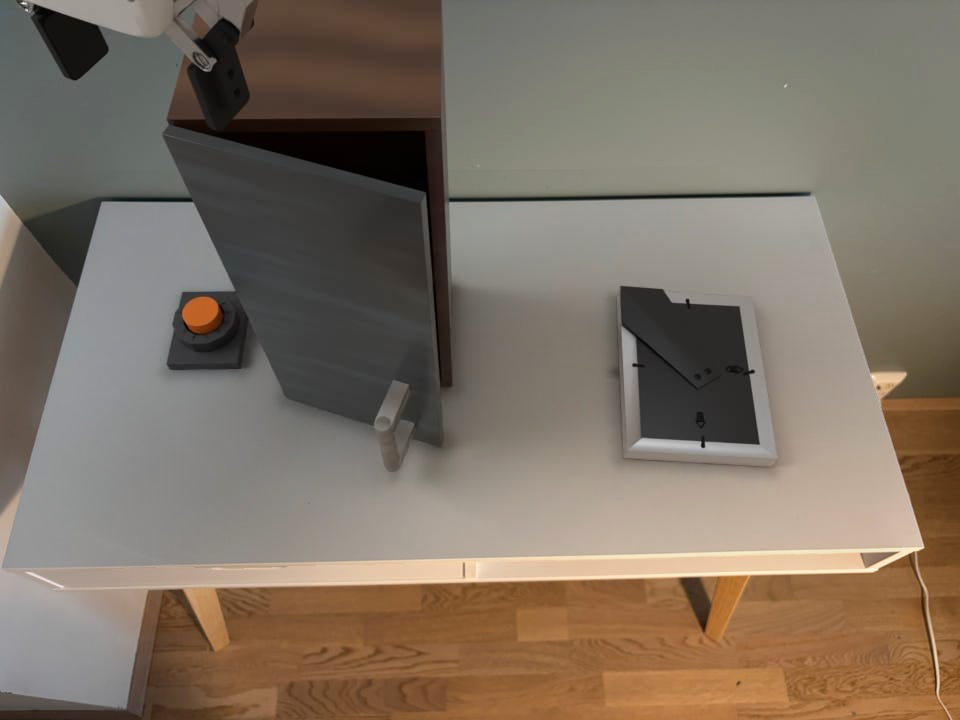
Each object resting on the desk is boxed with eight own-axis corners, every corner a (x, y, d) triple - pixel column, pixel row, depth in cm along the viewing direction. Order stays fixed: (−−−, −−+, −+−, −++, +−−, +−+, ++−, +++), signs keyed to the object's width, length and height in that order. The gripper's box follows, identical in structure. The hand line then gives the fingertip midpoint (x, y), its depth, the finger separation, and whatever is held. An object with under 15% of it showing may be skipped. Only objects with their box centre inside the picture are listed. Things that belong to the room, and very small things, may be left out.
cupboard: (452, 386, 83) (441, 117, 49) (288, 388, 82) (165, 119, 49) (451, 285, 90) (441, -10, 56) (300, 287, 89) (201, -9, 56)
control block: (240, 368, 83) (233, 355, 81) (169, 369, 83) (160, 356, 81) (252, 296, 88) (245, 281, 86) (185, 297, 88) (176, 282, 86)
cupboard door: (423, 492, 76) (388, 267, 43) (263, 439, 79) (116, 190, 46) (444, 439, 79) (426, 191, 46) (289, 390, 82) (168, 123, 49)
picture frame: (616, 299, 89) (623, 458, 78) (620, 285, 86) (628, 447, 76) (746, 306, 89) (771, 467, 78) (754, 292, 86) (780, 456, 76)
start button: (220, 334, 83) (215, 325, 81) (184, 334, 83) (179, 326, 81) (225, 304, 85) (221, 296, 83) (190, 305, 85) (185, 296, 83)
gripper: (-273, -303, 27) (-9, 86, 41) (114, -205, 23) (251, 181, 38) (-111, -369, 30) (79, 12, 45) (245, -292, 27) (324, 92, 42)
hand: (158, 89), depth 42 cm, fingers open, 9 cm apart
